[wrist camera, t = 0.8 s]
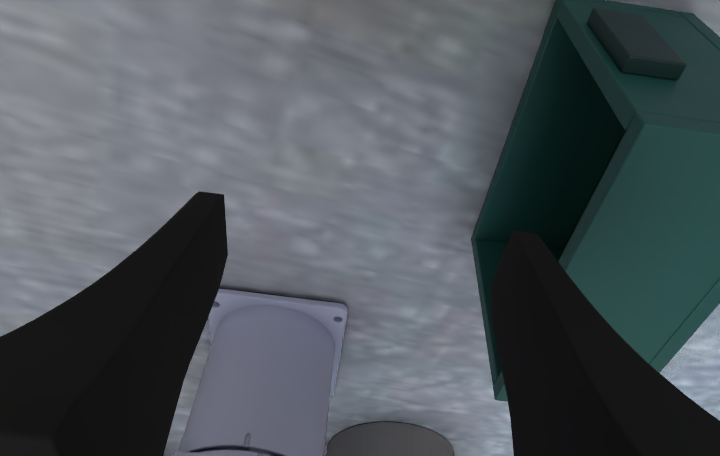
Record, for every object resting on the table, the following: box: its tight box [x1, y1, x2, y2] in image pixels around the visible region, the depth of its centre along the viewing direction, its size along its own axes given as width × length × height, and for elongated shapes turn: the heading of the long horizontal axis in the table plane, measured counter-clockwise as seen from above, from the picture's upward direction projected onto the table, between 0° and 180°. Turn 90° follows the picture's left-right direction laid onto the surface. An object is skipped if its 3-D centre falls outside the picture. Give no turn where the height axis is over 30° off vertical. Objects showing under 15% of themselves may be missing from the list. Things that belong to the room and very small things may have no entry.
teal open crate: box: [471, 0, 720, 401], centre depth 20 cm, size 13×5×9 cm, turn 173°
